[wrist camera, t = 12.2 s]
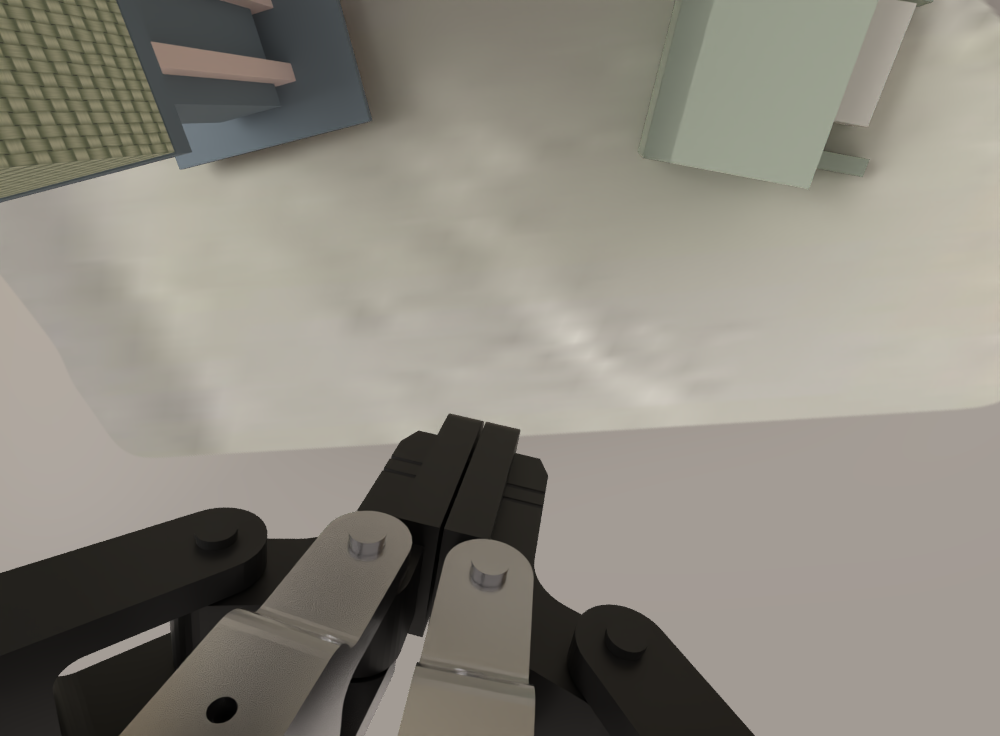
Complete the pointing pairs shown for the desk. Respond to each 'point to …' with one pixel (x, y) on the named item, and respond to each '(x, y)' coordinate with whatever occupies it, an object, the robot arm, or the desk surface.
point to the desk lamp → (165, 83)
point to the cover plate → (874, 62)
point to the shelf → (756, 86)
